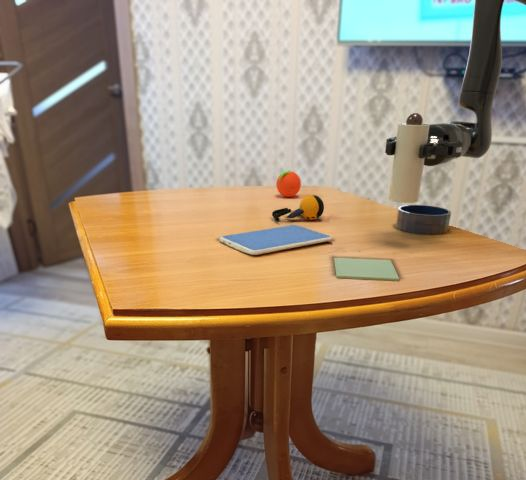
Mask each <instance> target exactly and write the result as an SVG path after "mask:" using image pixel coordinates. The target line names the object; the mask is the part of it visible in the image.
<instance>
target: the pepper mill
mask: <svg viewBox="0 0 526 480" xmlns="http://www.w3.org/2000/svg"><path fill="white" fill-rule="evenodd" d="M423 122H424V121H423V115H421V113H419V112H412V113H410V114H409V115H408V116H407V117H406V120H405V122H401V123H398V124H397V130H396V136H395V137H396V145H395V153H394V155H393V162H392V168H391V170H392V171H391V178H390V185H389V192H388V201H391V202H394V203H400V204H414V203H415V204H416V203H418V202H419V199H420V193H421V192H420V191H421V186H422V179H423V172H424V166H425V165H424V160H425V158H419V149H420V145H422V144H427V141H428V134H429V128H430V125H431V124H428V123H423Z"/></svg>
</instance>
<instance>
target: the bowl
mask: <svg viewBox="0 0 526 480" xmlns="http://www.w3.org/2000/svg"><path fill="white" fill-rule="evenodd" d="M451 216H452V211H451V210H450V209H447V208H444V207H440V206H434V205H427V204H405V205H401V206H398V208H397V213H396V220H395V227H396V229H398V230H400V231H404V232H407V233H411V234H419V235H441V234H445V233H447V232H448V231H449V228H450V222H451Z"/></svg>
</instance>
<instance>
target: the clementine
mask: <svg viewBox="0 0 526 480" xmlns="http://www.w3.org/2000/svg"><path fill="white" fill-rule="evenodd" d="M275 185H276V190H277V192H278V194H280V195H281V196H282V197H285V198H291V197H294V196H296V195H297V194H298V193H299V192H300V190H301V186H302V180H301V178H300V176H299V175H298V173H296V172H294V171H291V170H287V171H284V172H282V173H280V174H279V175H278V177H277V179H276V184H275Z"/></svg>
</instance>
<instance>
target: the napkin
mask: <svg viewBox="0 0 526 480" xmlns="http://www.w3.org/2000/svg"><path fill="white" fill-rule="evenodd" d="M333 264H334V270H335V277H336V279H349V280H370V281H371V280H372V281H391V282H393V281H394V282H399V281H400V277H399V275H398V273H397V270H396V268H395V266H394V264H393V262H392V260H390V259H371V258H351V257H350V258H349V257H348V258H347V257H344V258H343V257H334V258H333Z"/></svg>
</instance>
